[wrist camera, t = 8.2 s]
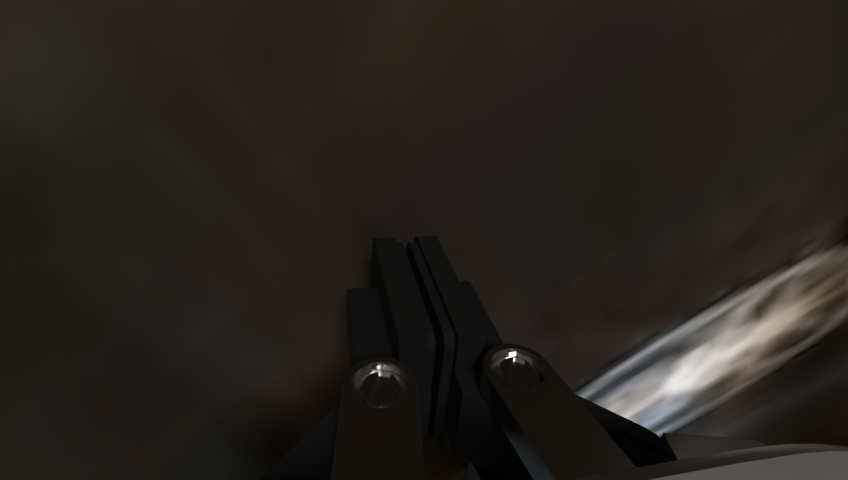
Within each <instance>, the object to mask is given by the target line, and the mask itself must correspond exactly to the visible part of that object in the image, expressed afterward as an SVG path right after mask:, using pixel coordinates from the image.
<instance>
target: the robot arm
mask: <svg viewBox="0 0 848 480" xmlns="http://www.w3.org/2000/svg"><path fill="white" fill-rule="evenodd" d="M347 324H348V341H349V352H350V363H351V368H350V370H349V371H348V372H347V373H346V375H345V378H344V381H343V384H342V391H341V400H340V402H339V403H338V404H337V405H336V406H335V407H334V408H333V409H332V410H331V411H330V412H329V413H328V414H327V415H326V416H325V417H324V418H323V419H322V420H321V421H320V422H319V423H318V424H316V425H315V426H314V427H313V428H312V429H311V430H310V431H309V432H308V433H307V434H306V435H305V436H304V437H303V438H302V439H301V440H300V441H299V442H298V443H297V444H296V445H295V446H294V447H293V448H292V449H291V450H290V451H289V452H287V453H286V454H285V455H284V456H283V457H282V458H281V459H280V460H279V461H278V462H277V463H276V464H275V465H274V466H273V467H272V468H271V469H270V470H269V471H268V472H267V473H266V474H265V475H264V476H263V477H262V478H261V479H259V480H425V469H424V456H425V448H426V440H427V432H428V433H429V436H430V438H431V439H434V438H438V441H439V445H440V448H441V452H449V451H453V453H455V454H457V455H458V456H460V457H462V458H463V459H464V467H465V470H466V473H467V476H468V478H469V480H848V447H847V446H837V445H827V444H783V445H773V446H767V445H765V444H763V443H761V442H758V441H754V440H749V439H741V438H727V437H713V436H700V435H686V434H672V433H663V435H662V436H661V438H660V437H659V436H657V435H656V434H655V433H653V432H651V431H650V430H648V429H646V428H645V427H643V426H640V425H638V424H636V423H634V422H632V421H630V420H628V419H626V418H624V417H622V416H619V415H617V414H615V413H613V412H611V411H609V410H607V409H605V408H603V407H601V406H599V405H596V404H594V403H592V402H590V401H588V400H586V399H584V398H582V397H580V396H578V395H575V394H574V392H573V391H572V390H571V389H570V388H569V386H568V385H567V384H566V383H565V382H564V380H563V379H562V378H561V377H560V376H559V375H558V373H557V372H556V371H555V370H554V369H553V367H552V366H551V365H550V364H549V363H548V361H547V360H546V359H545V358H543V357H542V356H541V355H540V354H539V353H537V352H536V351H534V350H532V349H530V348H528V347H525V346H522V345H518V344H503V342H502V340H501V338H500V337H499V335H498V333H497V331H496V329H495V327H494V325H493V324H492V322H491V320H490V318H489V316H488V314H487V312H486V311H485V309H484V307H483V305H482V303H481V301H480V300H479V298H478V296H477V294H476V292H475V290H474V288H473V287H472V285H471V284H470V282H468V281H462V282H459V280H458V278H457V276H456V274H455V272H454V270H453V268H452V266H451V264H450V262H449V261H448V259H447V257H446V255H445V253H444V251H443V249H442V247H441V245H440V243H439V241H438V239H437V237H436V236H425V237H415V239H414V242H408V243H407V251H405V248H404V245H403V243H396V241H395V238H374V239H373V246H372V287H368V288H353V289H347Z"/></svg>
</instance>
